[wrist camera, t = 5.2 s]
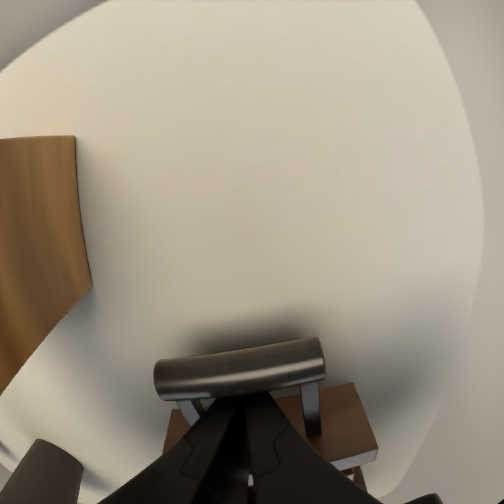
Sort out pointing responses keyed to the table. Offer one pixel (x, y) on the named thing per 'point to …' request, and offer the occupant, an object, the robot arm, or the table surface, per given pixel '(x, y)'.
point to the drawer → (273, 378)
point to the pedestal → (37, 244)
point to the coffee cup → (44, 477)
